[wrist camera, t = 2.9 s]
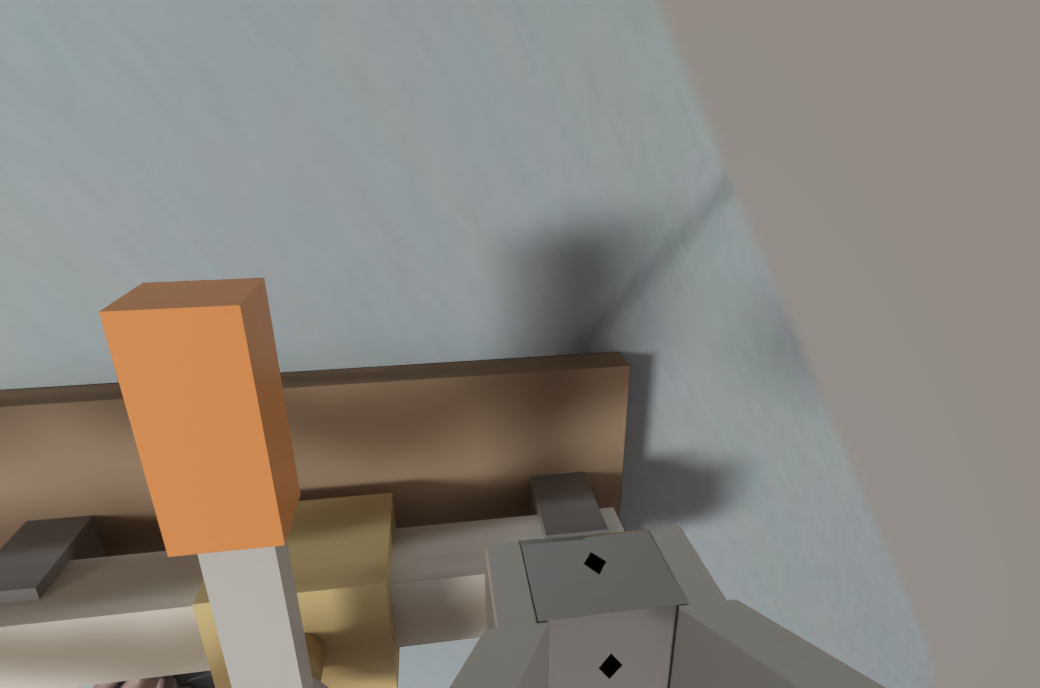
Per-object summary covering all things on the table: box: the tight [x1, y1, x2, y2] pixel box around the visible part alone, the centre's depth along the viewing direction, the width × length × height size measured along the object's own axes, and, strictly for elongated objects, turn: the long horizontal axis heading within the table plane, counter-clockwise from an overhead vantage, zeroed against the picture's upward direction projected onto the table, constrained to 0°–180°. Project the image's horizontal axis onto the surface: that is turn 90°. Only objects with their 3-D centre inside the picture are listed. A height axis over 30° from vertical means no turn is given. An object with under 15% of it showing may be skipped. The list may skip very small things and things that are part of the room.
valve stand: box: [0, 352, 630, 688], centre depth 23 cm, size 14×26×9 cm, turn 90°
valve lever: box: [99, 278, 328, 688], centre depth 16 cm, size 15×3×2 cm, turn 0°
